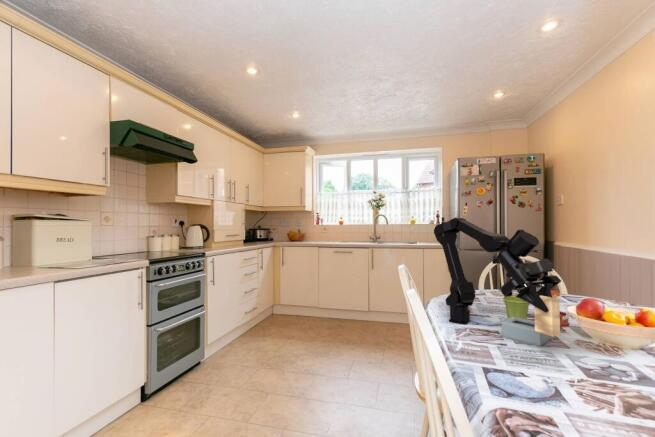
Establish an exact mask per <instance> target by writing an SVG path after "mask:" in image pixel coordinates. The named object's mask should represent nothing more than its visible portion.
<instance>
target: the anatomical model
mask: <svg viewBox="0 0 655 437" xmlns="http://www.w3.org/2000/svg"><path fill="white" fill-rule="evenodd" d="M551 294H552V297H553V298H556V299H557V298H558V297H561V294H560V292H558V291H557V290H556V289H555V287H554V288H553V289H551ZM569 317H570V315H569V313H566V312H563V311H560V328H569V327H570V323H569Z"/></svg>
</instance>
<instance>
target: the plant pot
mask: <svg viewBox="0 0 655 437" xmlns="http://www.w3.org/2000/svg"><path fill="white" fill-rule="evenodd" d="M516 296H517V295H515V296H514V295H512V296H508V297H504V296H502V300H503V302H504V305H505V310H506V316H507V319H509V318H511V317H517V318H521V319H526V320H528V312H529V306H530V305H531V304H530V303H528V302H526V301H524V300H522V299H520V298H517V297H516Z"/></svg>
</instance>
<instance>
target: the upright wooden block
mask: <svg viewBox="0 0 655 437" xmlns="http://www.w3.org/2000/svg"><path fill="white" fill-rule="evenodd" d="M540 298H541V299H542V300H543V302H544V303H545V305H546V306H547V308H548V309H549V311H548V312H544V311H542V310H540V309H539V308H537V307H535V306H534V305H533V306H534V308H533V309H534V313H533V314H534V321H535V331H537V332H540V333H543V334H546V335H549V336H550V337H551V338H554V337H558V336H561V327H560V299H559V298H557V297H556V298H551V297H546V296H542V295H541V296H540Z"/></svg>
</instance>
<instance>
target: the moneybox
mask: <svg viewBox="0 0 655 437" xmlns="http://www.w3.org/2000/svg"><path fill="white" fill-rule="evenodd" d="M501 337H502V338H506V339H508V340H514V341H517V342H520V343H524V344H528V345H531V346H534V347H538V348H539V347H540V348H541V347H542V346H544V345H545V344H546V343H548V342H550V341H551V336H549V335H546V334H543V333H540V332H537V331H535V320H530V319H527V320H526V319H521V318H517V317H511V318H509V319H508V318H507V319H504V320H502V321H501Z"/></svg>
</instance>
